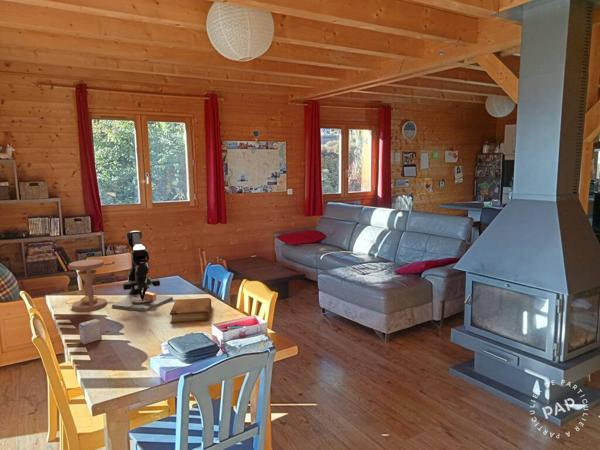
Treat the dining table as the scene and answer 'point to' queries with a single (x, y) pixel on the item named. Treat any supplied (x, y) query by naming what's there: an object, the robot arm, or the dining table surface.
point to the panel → (143, 306)
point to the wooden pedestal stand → (88, 285)
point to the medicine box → (90, 331)
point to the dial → (147, 298)
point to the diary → (191, 310)
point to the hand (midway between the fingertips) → (142, 299)
